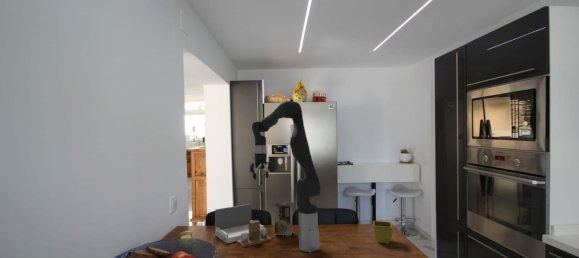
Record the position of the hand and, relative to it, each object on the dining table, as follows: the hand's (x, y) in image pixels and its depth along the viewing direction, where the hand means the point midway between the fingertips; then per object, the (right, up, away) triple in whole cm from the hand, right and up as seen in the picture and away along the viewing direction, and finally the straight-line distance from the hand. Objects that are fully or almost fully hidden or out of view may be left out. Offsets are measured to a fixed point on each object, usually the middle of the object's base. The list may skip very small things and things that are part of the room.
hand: (260, 178), depth 160 cm
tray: (0, -27, -27) cm, 38 cm away
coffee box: (+14, -28, -17) cm, 35 cm away
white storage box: (-10, -28, -17) cm, 34 cm away
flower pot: (+65, -26, -30) cm, 77 cm away
